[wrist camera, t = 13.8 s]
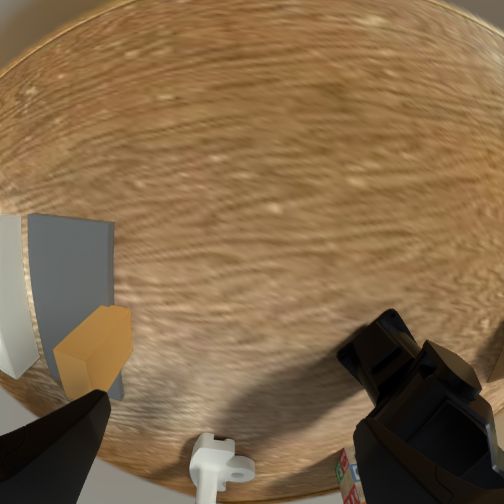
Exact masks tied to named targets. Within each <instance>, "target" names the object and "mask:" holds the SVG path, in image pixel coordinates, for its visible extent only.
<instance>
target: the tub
mask: <svg viewBox="0 0 504 504" xmlns="http://www.w3.org/2000/svg"><path fill="white" fill-rule="evenodd" d="M21 218H22V215H14V214H5V213H0V370H2V371H3V372H5V373H6V374H8V375H10V376H11V377H13V378H15V379H16V380H17V379H18V378H19V377H20V376H21V375H22V374H23V373H24V372H25V371H26V370H27V369H28V368H30V367H31V366H32V365H33V364H34V363H35V362H36V361H37V360H38V359H39V358H40V355H39V352H38V348H37V344H36V340H35V336H34V331H33V327H32V322H31V317H30V311H29V306H28V300H27V293H26V285H25V277H24V267H23V254H22V227H21Z"/></svg>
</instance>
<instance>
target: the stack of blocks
mask: <svg viewBox="0 0 504 504" xmlns="http://www.w3.org/2000/svg"><path fill="white" fill-rule="evenodd" d="M354 454H355V448H354V446H349V447H344V448H343V451H342V453H341V456H340V459H339V462H338V464H337V467H336V469H335V472H336V476H337V480H338V483H339V486H340V490H341V494H342V498H343V502H344V504H366V502H365V498H364V493H363V489H362V485H361V482H360V478H359V474H358V469H357V463H356V460H355V457H354Z"/></svg>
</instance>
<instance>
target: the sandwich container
mask: <svg viewBox="0 0 504 504" xmlns="http://www.w3.org/2000/svg"><path fill="white" fill-rule="evenodd" d="M503 378H504V347H503V349H502V352H501V354H500V357H499V359H498V361H497V363H496V366H495V368H494V370H493V372H492V374H491V376H490V378H489V380H488V382H487V383H490V382H493V381H496V380H499V379H503Z"/></svg>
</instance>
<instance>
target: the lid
mask: <svg viewBox="0 0 504 504" xmlns="http://www.w3.org/2000/svg"><path fill="white" fill-rule="evenodd" d="M114 226H115V222H108V221H100V220H92V219H83V218H75V217H66V216H57V215H48V214H39V213H32V214H28V253H29V267H30V277H31V286H32V294H33V301H34V307H35V313H36V318H37V323H38V328H39V333H40V337H41V342H42V346H43V350H44V354H45V357H46V361H47V365H48V368H49V371H50V375H51V376H53V377H55V378H58V379H60V380H61V381H62V384H63V387H64V390H65V393H66V396H67V397H69V398H71V399H73V400H76V399H78V398H80V397H82V396H84V395H85V394H87V393H89V392H91V391H93V390H95V389H100V390H103V391H106V392H107V393H108V397H109V398H112V399H115V400H118V401H122V399H123V397H124V389H123V383H122V377H121V369H122V367H123V366H124V364H125V363H126V361H127V360H128V358H129V356H130V355H131V353H132V352H133V342H132V325H131V309H129V308H124V307H120V306H115V305H114V279H113V255H114Z"/></svg>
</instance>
